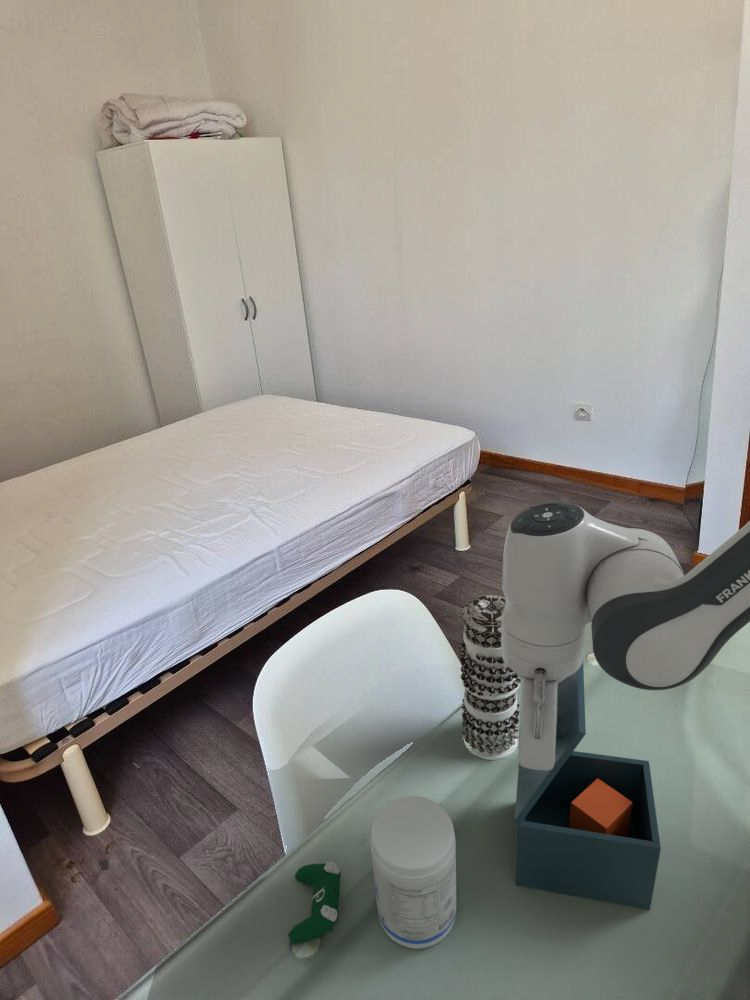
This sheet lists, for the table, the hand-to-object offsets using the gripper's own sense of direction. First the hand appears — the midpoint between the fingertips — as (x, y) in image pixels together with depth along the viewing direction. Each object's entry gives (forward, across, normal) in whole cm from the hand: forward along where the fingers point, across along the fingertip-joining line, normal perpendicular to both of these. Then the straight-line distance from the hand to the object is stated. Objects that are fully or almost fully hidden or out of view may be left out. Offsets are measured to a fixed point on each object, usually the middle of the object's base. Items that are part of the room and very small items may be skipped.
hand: (537, 736), depth 81 cm
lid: (0, 0, -2) cm, 2 cm away
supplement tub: (+19, -12, +13) cm, 26 cm away
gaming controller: (+19, -14, +25) cm, 34 cm away
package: (+18, 0, -8) cm, 20 cm away
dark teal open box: (+19, 0, -6) cm, 20 cm away
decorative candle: (+19, +17, +7) cm, 26 cm away
